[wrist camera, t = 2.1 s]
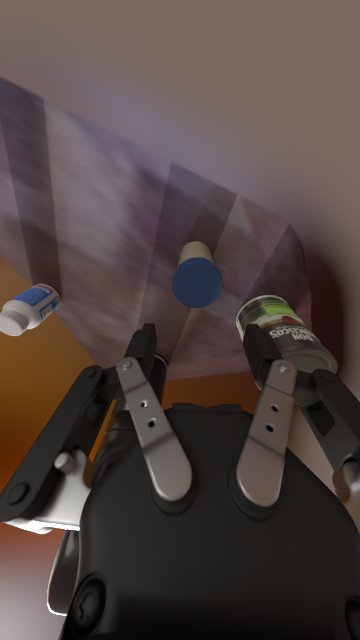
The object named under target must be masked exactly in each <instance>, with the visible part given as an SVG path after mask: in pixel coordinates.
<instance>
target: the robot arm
mask: <svg viewBox="0 0 360 640" xmlns="http://www.w3.org/2000/svg"><path fill="white" fill-rule="evenodd" d="M156 345H157V338H156V331H155V324H144V326H143V329H142V330H137V331H136V332H135V333H134V334H133V336H132V339H131V341H130V344H129V346H128V349H127V351H126V354H125V356H124V358H123V359H122V360H120V361H119V362H118V363H117V365H116V366H114V367H111V368H107V369H103V370H102V368H101V367H100V366H98V365H93V366H89V367H87V368H85V369H84V370H83V371H82V372H81V373H80V374H79V376H78V377H77V379H76V380H75V382H74V383H73V385H72V386H71V388H70V389H69V391H68V392H67V394H66V395H65V397H64V398H63V400H62V402H61V403H60V405H59V406H58V407H57V409H56V410H55V412H54V414H53V415H52V417H51V418H50V420H49V421H48V423H47V424H46V426H45V427H44V429H43V430H42V432H41V433H40V435H39V436H38V438H37V439H36V441H35V442H34V444H33V446H32V447H31V448H30V450H29V452H28V453H27V454H26V456H25V457H24V459H23V461H22V462H21V464H20V465H19V467H18V468H17V470H16V471H15V473H14V474H13V476H12V477H11V479H10V480H9V482H8V483H7V485H6V486H5V488H4V489H3V491H2V492H1V494H0V522H4V523H7V524H10V525H13V526H16V527H20V528H23V529H26V530H29V531H32V532H36V533H39V534H44V533H47V532H49V531H51V530H52V529H54V528H55V527H57V528H65V529H66V530H65V532H64V535H63V538H62V540H61V543H60V545H59V548H58V551H57V554H56V557H55V560H54V563H53V567H52V571H51V575H50V579H49V583H48V591H47V604H48V608H49V610H50V611H51V612H53V613H55V614H59V615H66V618H65V621H64V624H63V627H62V630H61V633H60V636H59V639H58V640H360V402H359V401H358V400H357V398H356V397H355V396H354V395H353V394H352V392H351V391H350V390H349V389H348V388H347V386H346V385H345V384H344V383H343V382H342V381H341V380H340V378H339V377H338V376H337V375H335V374H334V373H332V372H331V371H328V370H325V369H315V370H314V371H313V373H308V372H304V371H300V370H297V368H296V367H295V366H294V365H293V364H292V363H291V362H289V361H286V360H284V358H283V357H282V355H281V353H280V351H279V349H278V348H277V346H276V345H275V342H274V341H273V339H272V337H271V335H270V334H269V333H268V332H266V331H265V330H261V329H260V327H259V325H258V324H247V325H246V329H245V333H244V338H243V347H244V350H245V353H246V356H247V359H248V362H249V365H250V368H251V371H252V373H253V376H254V379H255V382H256V383H262V386H263V389H262V392H261V395H260V398H259V401H258V404H257V406H256V410H255V412H254V415H252V414H250V413H248V412H246V411H243V410H242V409H241V405H238V404H221V405H217V406H213V407H209V408H205V407H201V406H198V405H194V404H191V403H173V404H172V408H169V409H166V410H164V411H163V410H162V401H163V393H164V387H165V380H166V373H167V368H168V364H167V362H166V360H165V359H164V358H163V357H162V356H161V355H159V354H157V353H155V350H156ZM115 399H117V400H116V403H115V406H114V409H113V411H112V414H111V417H110V420H109V422H108V425H107V428H106V431H105V434H104V436H103V439H102V442H101V445H100V447H99V449H98V451H97V453H96V455H95V458H94V460H93V463H92V462H91V461H90V459H89V458H88V457H89V455H90V452H91V450H92V448H93V445H94V443H95V440H96V438H97V436H98V433H99V431H100V428H101V426H102V424H103V421H104V419H105V417H106V414H107V412H108V410H109V407H110V405H111V402H112V400H115ZM294 404H297V405H299V407H300V409H301V411H302V413H303V415H304V416H305V418H306V420H307V422H308V424H309V426H310V427H311V429H312V431H313V433H314V435H315V436H316V438H317V440H318V442H319V444H320V446H321V447H322V449H323V451H324V453H325V455H326V457H327V458H328V460H329V462H330V464H331V466H332V467H333V469H334V471H335V472H334V474H333V477H332V479H333V484H334V487H335V491H336V494H337V496H336V495H335V494H334V493H333V492H332V491H331V490H330V489H329V488H328V487H327V486H326V485H325V484H324V483H323V482H322V481H321V480H320V479H319V478H318V477H317V476H316V475H315V474H314V473H313V472H312V471H311V470H309V468H307V466H306V465H305V464H304V463H303V462H302V461H301V460H300V459H299V458H298V457H297V456H295V454H294V453H293V452H292V451H291V450H290V449H289V448H288V447H287V446H286V443H287V438H288V433H289V427H290V422H291V416H292V411H293V406H294Z"/></svg>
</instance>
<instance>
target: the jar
mask: <svg viewBox="0 0 360 640" xmlns="http://www.w3.org/2000/svg"><path fill="white" fill-rule="evenodd" d="M193 257H202V258H203V257H204V258H206V259H208V260H210V261H211V262H213V263H214V260H213V257H212V254H211V251H210V249H209V248H208V246H207V245H206V244H204V243H202V242H199V241H193V242H190V243H188V244H186V245H185V246H184V247H183V248H182V250H181V251H180V254H179V259H178V265H177V268H178V266H179V264H181V263H182V262H184V261H185V260H187V259H189V258H193ZM214 264H215V263H214Z"/></svg>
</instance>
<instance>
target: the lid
mask: <svg viewBox="0 0 360 640" xmlns="http://www.w3.org/2000/svg"><path fill="white" fill-rule="evenodd" d="M221 289H222V277H221V274H220V273H219V270H218V268H217V267H216V265H215V264H214V263H213V262H211V261H210V260H208V259H206V258H204V257H203V258H202V257H193V258H189V259H187V260H185V261H184V262H182V263H181V264H179V266H178V268H177V269H176V271H175V274H174V275H173V292H174V294H175V296H176V298H177V299H178V300H179V301H180V302H181V303H182V304H184V305H186V306H189V307H193V308H200V307H205V306H207V305H209V304H211V303H212V302H214V301H215V300H216V299H217V298H218V296H219V294H220V292H221Z"/></svg>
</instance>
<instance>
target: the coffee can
mask: <svg viewBox="0 0 360 640" xmlns="http://www.w3.org/2000/svg"><path fill="white" fill-rule="evenodd" d="M236 324H237V327H238V329H239V332H240V335H241V338H242V341H243V338H244V333H245V329H246V325H247V324H258V325H259V327H260V329H261V330H265V331H266V332H268V333H269V334H270V335H271V337H272V339H273V341H274V342H275V345H276V346H277V348H278V349H279V351H280V353H281V355H282V357H283V358H284V360H286V361H289V362H291V363H292V364H293V365H294V366H295V367H296V368H297V370H300V371H304V372H308V373H313V371H314V370H315V369H325V370H328V371H331V372H332V373H334V374H336V372H337V370H338V362H337V360H336V358H335V357H334V356H333V355H332V354H331V353H330V352H329V351H328V350H326V348H324V346H323V345H322V344H321V343H320V341H319V340H318V339H317V338H316V337H315V336H314V334H313V333H312V332H311V331H310V330H309V329H308V328H307V326H306V325H305V324H304V323H303V322H302V321H301V319H300V318H299V317H298V316H297V315H296V313H295V312H294V311H293V310H292V309H291V307H290V306H289V305H288V303H287V302H286V301H285V300H284V299H282V298H280V297H278V296H274V295H263V296H259V297H256V298H253V299H251V300H250V301H248V302H247V303H245V304H244V305H243V306H242V307H241V309H240V310H239V312H238V314H237V317H236ZM255 383H256V382H255ZM256 385H257V387H258V388H259V389H260V390H261V391H262V389H263V386H262V383H256Z"/></svg>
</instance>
